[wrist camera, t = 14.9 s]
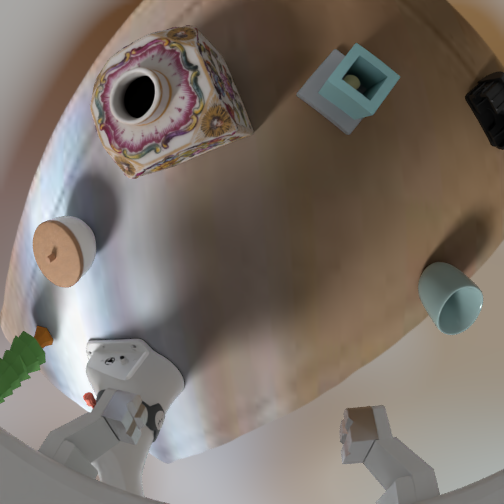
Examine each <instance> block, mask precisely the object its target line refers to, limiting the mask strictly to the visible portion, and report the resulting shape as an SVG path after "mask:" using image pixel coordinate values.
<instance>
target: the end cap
mask: <svg viewBox="0 0 504 504" xmlns="http://www.w3.org/2000/svg"><path fill="white" fill-rule="evenodd" d="M465 99H466V101H467V103H468V104H469V106H470V108H471V109H472V111H473V113H474V114H475V116H476V118H477V119H478V121H479V123H480V125H481V127H482V128H483V130H484V132H485V134H486V136H487V138H488V140H489V142H490V144H491V145H492V146H494V147H497V148H498V149H502V150H504V73H503V72H495V73H492V74H490V75H488V76H486V77H484V78H482V79H481V80H480V81H479V82H478V85H477V86H476V87H474V88H473V89H472V90H471V91H470V92H469V93H468V94H467V95H466V96H465Z"/></svg>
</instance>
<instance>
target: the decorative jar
mask: <svg viewBox="0 0 504 504" xmlns="http://www.w3.org/2000/svg"><path fill="white" fill-rule="evenodd" d="M90 109H91V113H92V116H93V121H94V124H95V127H96V131H97V134H98V136H99V138H100V140H101V142H102V145H103V147H104V148H105V149H106V151H107V152H108V154H110V155H111V157H112V158H113V160H114V162H115V163H116V164H117V165H118V166H119V167H120V168H121V169H122V171H123V172H124V175H125V176H127V177H128V178H131V179H136V178H138V177H139V176H143V175H146V174H150V173H153V172H157V171H161V170H164V169H167V168H170V167H173V166H176V165H178V164H180V163H183V162H186V161H188V160H190V159H192V158H194V157H197V156H199V155H202V154H204V153H206V152H209V151H212V150H214V149H216V148H219V147H221V146H224V145H227V144H229V143H231V142H234V141H237V140H239V139H242V138H245V137H247V136H250V135H252V134H253V133H254V132H253V128H252V125H251V123H250V120H249V117H248V115H247V112H246V110H245V107H244V105H243V102H242V100H241V98H240V95H239V93H238V90H237V88H236V86H235V83H234V81H233V79H232V76H231V74H230V71H229V69H228V67H227V64H226V62H225V60H224V58H223V57H222V56H221V54H220V53H219V52H218V51H217V50H216V49H215V48H214V47H213V45H212V44H211V43H210V42H209V41H208V40H207V39H206V38H205V37H204V36H203V35H202V34H201V33H200V32H199V30H198V29H197V28H196V27H195V26H190V25H186V26H184V27H175V28H170V29H167V30H164V31H159V32H154V33H151V34H148V35H146V36H144V37H142V38H140V39H138V40H137V41H135V42H133V43H131V44H130V45H128V46H126V47H124V48H122V49H121V50H120V51H118V52H117V53H116V54H115V55H113V56H112V57H111V58H110V59H109V60H108V61H107V63H106V64H105V66H104V67H103V69H102V70H101V72H100V74H99V75H98V77H97V79H96V81H95V84H94V89H93V94H92V100H91V105H90Z"/></svg>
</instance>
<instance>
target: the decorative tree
mask: <svg viewBox="0 0 504 504" xmlns="http://www.w3.org/2000/svg"><path fill="white" fill-rule="evenodd" d="M52 343H53V338H52V337H51V335H50V333H49V332H48V330H47V328H44V327H41V326H37V328H36V332H35V336H34V337H32V336H31V335H29V334H28V333H26V332H24V331H23V332H22V333H21V335H20V336H19V338H18V337H17V336H15V338H14V340H13V342H12V345H11V349H10V350H6V351H5V353H4V356H3V359H1V358H0V403H2V402H4V399H3V398H5V397H7V396H9V395H12V394H13V392H12V390H14V389H16V388H18V387H20V386H21V383H20V382H21V381H23V380H26V379H29V378H30V376H29V375H28V373H31V372H34V371H38V370H40V366H39V365H41V364H43V363H45V362H46V361H45V352H44V350H43V349H42V348H44V347H45V346H48V345H52Z"/></svg>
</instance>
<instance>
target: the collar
mask: <svg viewBox="0 0 504 504" xmlns="http://www.w3.org/2000/svg"><path fill="white" fill-rule="evenodd" d="M345 74H348V75H354V76H356V77H357V78H358V79H359V81H360V84H361V85H362V86H364V87H365V88H366V89H367V90H366V91H365V92H364V94H363V95H362V94H361V93H360V92H358V91H357V90H356V89H354V88H353V87H352V86H350V85H349V84H348V83H346V82H345V81H344V80H342V78H343V76H344V75H345ZM399 78H400V76H399V75H398V74H396V73H395V72H394V71H393V70H392V69H390V68H389V67H388V66H387V65H386V64H384V63H383V62H382V61H380V60H379V59H378V58H377V57H375V56H374V55H373V54H371V53H370V52H369V51H367V50H366V49H365V48H363V47H362V46H360V45H359V44H358V43H355V45H354V46H353V47H352V49H351V50H350V51H349V52H348V54H347V55H346V56H345V57H344V59H343V60H342V61H341V63H340V64H339V65H338V66H337V68H336V69H335V70H334V72H333V73H332V74H331V76H330V77H329V78H328V80H327V81H326V82H325V84H324V85H323V87H322V88H321V89H320V91H319V92H318V93H319V94H320V95H322V96H323V97H324V98H326V99H327V100H329V101H330V102H331V103H333V104H334V105H336V106H337V107H338V108H340V109H341V110H342V111H344V112H345V113H346V114H348V115H349V116H350V117H351V118H353V119H354V120H355V119H359V118H363V117H367V116H371V115H373V114H374V113H375V112H376V110H377V109H378V107H379V106H380V105H381V103H382V102H383V101H384V99H385V98H386V96H387V95H388V94H389V92H390V91H391V89H392V88H393V87H394V85H395V84H396V83H397V81H398V80H399Z"/></svg>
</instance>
